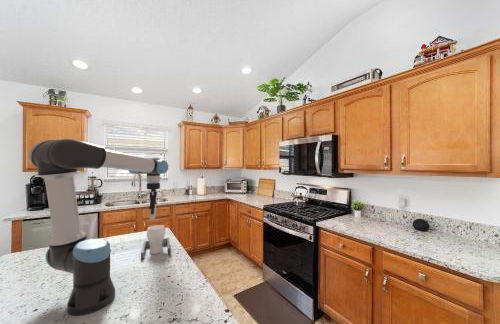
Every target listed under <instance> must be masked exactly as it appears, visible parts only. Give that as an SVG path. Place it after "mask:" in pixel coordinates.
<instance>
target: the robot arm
mask: <svg viewBox="0 0 500 324" xmlns="http://www.w3.org/2000/svg"><path fill="white" fill-rule="evenodd" d="M28 155H29V156H28V157H29V161H30V163H31V164H32V165H33V166H34V167H36V169H37V175H38V177H40V178H42V179H43V180H44V183H45V190H46V197H47V202H48V210H49V215H50V221H51V229H52V235H53V237H52V238H51V240H50V241H49V242H48V243H49V244H48V246H49V247H48V249H47V250H46V252H45V262H46V264H47V265H48V266H49V267H51V268H52V269H54V270H56V271H61V272H65V273H68V274H69V273H70V274H72V275H73V279H72V280H73V282H72V284H73V286H72V287H73V288H72V290H71V293H70V295H69V297H68V301H67V304H66V312H67V313H68V315H71V316H82V315H87V314H91V313H94V312H96V311H98V310H99V311H100V310H101V309H102V308H105V307H106V306H107V305H109V304H110V303H111V302H112V301H114V299H115V298H116V288H115V285H114V283H113V280H112V278H111V252H112V249H111V244H110V242H109V241H108V240H107V239H105V238H89V239H88V238H87V233H86V232H85V231H83V230H82V229H81V222H80V220H81V219H80V215H79V214H80V213H79V207H78V200H77V193H76V192H77V191H76V186H75V178H74V176H75V175H76V174H77V173H78V169H95V170H97V169H101V168H105V169H106V168H107V169H114V170H115V169H116V170H123V171H128V172H129V173H130V174H132V175H133V174H136V175H139V174H142V175H143V174H146V190H150V191H149V207H148V210H149V221H154V220H156V215H157V205H158V202H157V197H158V196H157V194H158V191H157V190H159V189H161V183H160V182H161V178H162V177H161V174H162V175H163V174H166V173H167V172H168V170H169V163H168V162H167V160H164V159H160V158H159V157H143V156H140V155H139V156H138V155H133V154H130V153H124V152H119V151H116V150H115V151H114V150H109V149H106V148H105V147H104V146H102V145H97V144H94V143H90V142H87V141H84V140H83V141H82V140H79V139H75V138H63V139H47V140H44V141H41V142H39V143H37V144H35V145H34V146H33V147H31V149H30V151H29V153H28Z"/></svg>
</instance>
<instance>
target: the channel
mask: <svg viewBox="0 0 500 324" xmlns="http://www.w3.org/2000/svg"><path fill="white" fill-rule="evenodd" d="M170 242H171V241H170V237H166V238H165V237H164V239H163V242H162V246H167V256H170V255H171V247H170V246H171V245H170ZM147 248H150V242H149V240H144V241H143V244H142V248H141V251H140V260H141V261H142V260H144V259H145V253H146V249H147Z"/></svg>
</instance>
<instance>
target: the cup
mask: <svg viewBox="0 0 500 324" xmlns="http://www.w3.org/2000/svg"><path fill="white" fill-rule="evenodd" d="M165 236H166V227H165V225H162V224H159V225H158V224H156V225H151V226H149V227H147V231H146V238H147V241H149V242H150V247H149V254H150V255H151V254H152V255H157V254H159V253H162V252H163V251H164V248H163V245H162V242H163V239H165Z"/></svg>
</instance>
